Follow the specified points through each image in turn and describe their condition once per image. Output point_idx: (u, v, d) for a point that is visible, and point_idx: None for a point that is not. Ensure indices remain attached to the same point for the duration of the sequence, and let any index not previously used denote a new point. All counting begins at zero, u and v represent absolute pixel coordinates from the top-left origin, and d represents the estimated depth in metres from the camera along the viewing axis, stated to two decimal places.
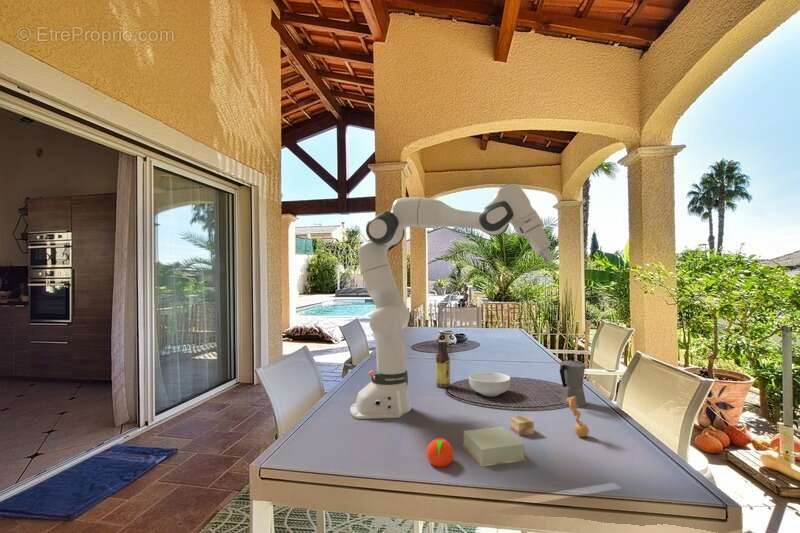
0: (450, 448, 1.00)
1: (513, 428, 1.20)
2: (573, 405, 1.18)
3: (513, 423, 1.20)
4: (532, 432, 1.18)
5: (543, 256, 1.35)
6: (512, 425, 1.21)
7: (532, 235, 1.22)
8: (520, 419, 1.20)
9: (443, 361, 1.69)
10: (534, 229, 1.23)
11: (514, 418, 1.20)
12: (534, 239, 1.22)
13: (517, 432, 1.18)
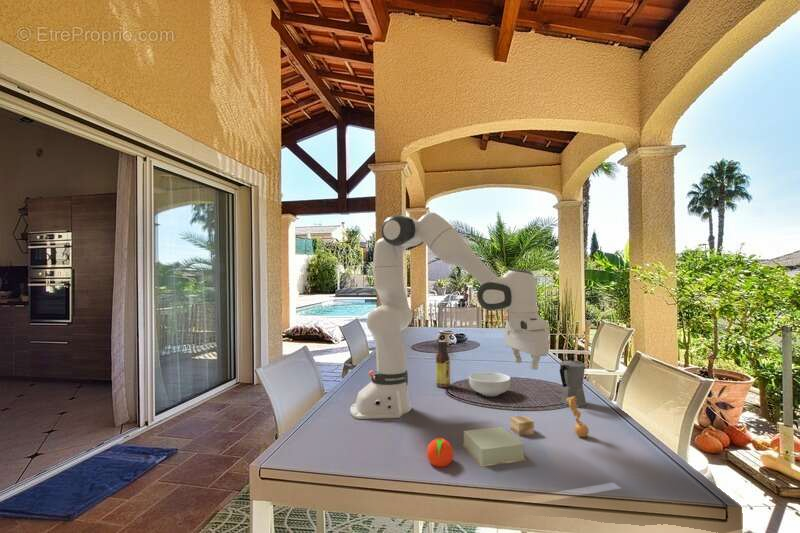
0: (450, 448, 1.00)
1: (513, 428, 1.20)
2: (573, 405, 1.18)
3: (513, 423, 1.20)
4: (532, 432, 1.18)
5: (516, 355, 1.25)
6: (512, 425, 1.21)
7: (536, 338, 1.11)
8: (520, 419, 1.20)
9: (443, 361, 1.69)
10: (539, 332, 1.12)
11: (514, 418, 1.20)
12: (536, 343, 1.11)
13: (517, 432, 1.18)
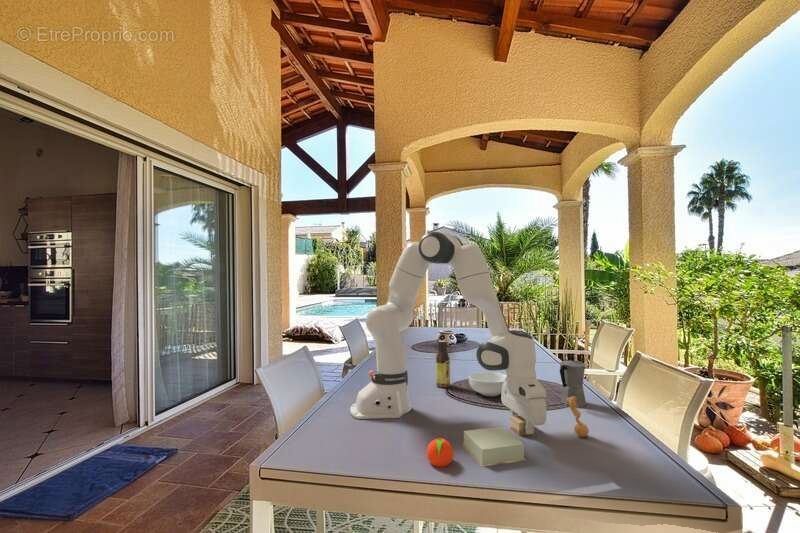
0: (450, 448, 1.00)
1: (513, 428, 1.20)
2: (573, 405, 1.18)
3: (513, 423, 1.20)
4: (532, 432, 1.18)
5: None
6: (512, 424, 1.21)
7: (534, 407, 1.10)
8: (520, 418, 1.20)
9: (443, 361, 1.69)
10: (537, 400, 1.11)
11: (514, 418, 1.20)
12: (534, 412, 1.10)
13: (517, 432, 1.18)
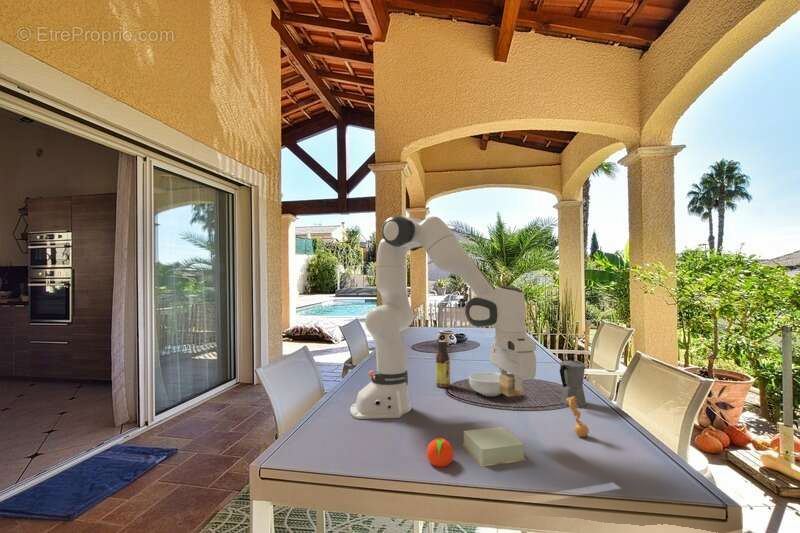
0: (450, 448, 1.00)
1: (502, 386, 1.15)
2: (573, 405, 1.18)
3: (502, 381, 1.16)
4: (521, 389, 1.13)
5: None
6: (500, 383, 1.16)
7: (523, 360, 1.06)
8: (509, 376, 1.15)
9: (443, 361, 1.69)
10: (527, 354, 1.07)
11: (503, 375, 1.16)
12: (523, 365, 1.05)
13: (506, 389, 1.13)
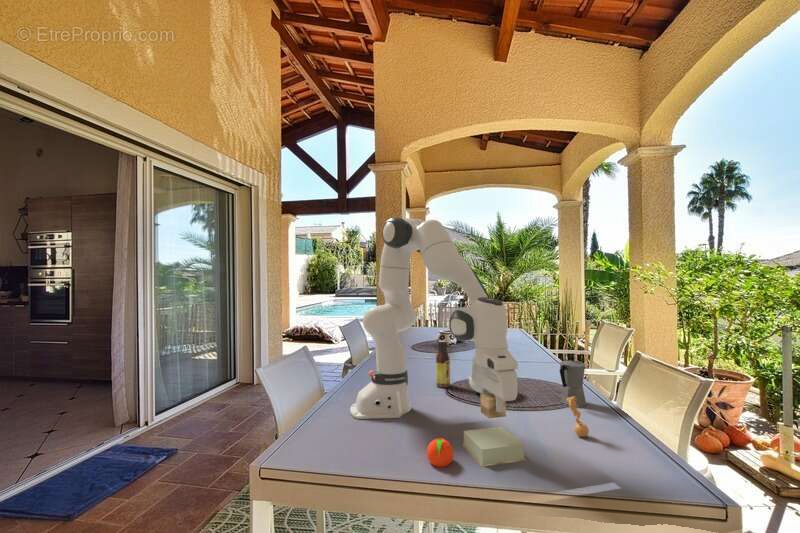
0: (450, 448, 1.00)
1: (483, 406, 1.07)
2: (573, 405, 1.18)
3: (483, 401, 1.07)
4: (504, 410, 1.05)
5: None
6: (482, 403, 1.08)
7: (503, 380, 0.97)
8: (491, 395, 1.07)
9: (443, 361, 1.69)
10: (507, 373, 0.98)
11: (484, 395, 1.07)
12: (504, 386, 0.97)
13: (487, 410, 1.04)
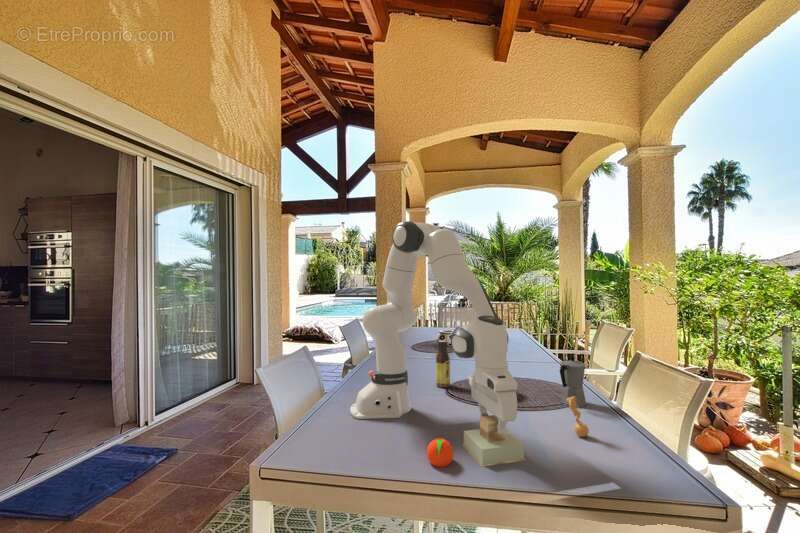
0: (450, 448, 1.00)
1: (482, 429, 1.07)
2: (573, 405, 1.18)
3: (482, 424, 1.07)
4: None
5: (482, 410, 1.12)
6: (481, 425, 1.08)
7: (503, 401, 0.97)
8: (490, 418, 1.07)
9: (443, 361, 1.69)
10: (507, 394, 0.98)
11: (484, 418, 1.07)
12: (503, 407, 0.97)
13: (486, 433, 1.04)
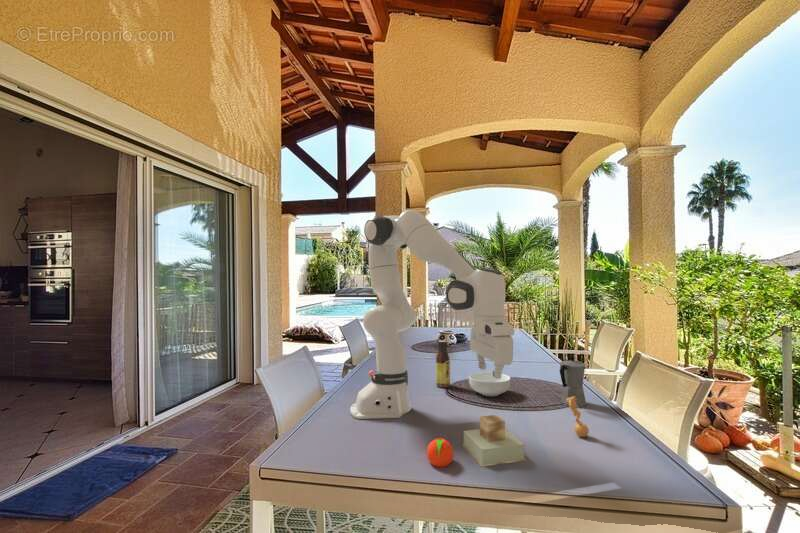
0: (450, 448, 1.00)
1: (482, 429, 1.07)
2: (573, 405, 1.18)
3: (482, 424, 1.07)
4: (503, 433, 1.05)
5: (480, 360, 1.15)
6: (481, 425, 1.08)
7: (500, 345, 1.00)
8: (490, 418, 1.07)
9: (443, 361, 1.69)
10: (504, 338, 1.01)
11: (484, 418, 1.07)
12: (500, 350, 1.00)
13: (486, 433, 1.04)
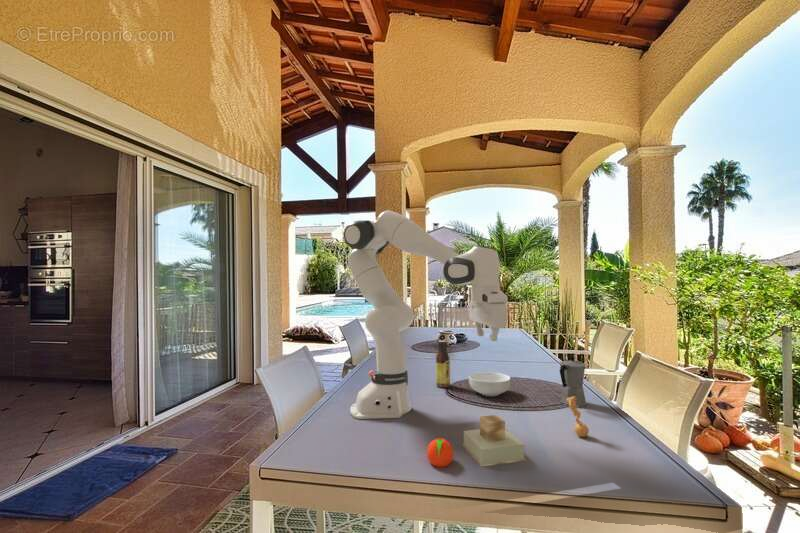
0: (450, 448, 1.00)
1: (482, 429, 1.07)
2: (573, 405, 1.18)
3: (482, 424, 1.07)
4: (503, 433, 1.05)
5: (478, 328, 1.30)
6: (481, 425, 1.08)
7: (495, 310, 1.15)
8: (490, 418, 1.07)
9: (443, 361, 1.69)
10: (499, 305, 1.17)
11: (484, 418, 1.07)
12: (495, 315, 1.15)
13: (486, 433, 1.04)
